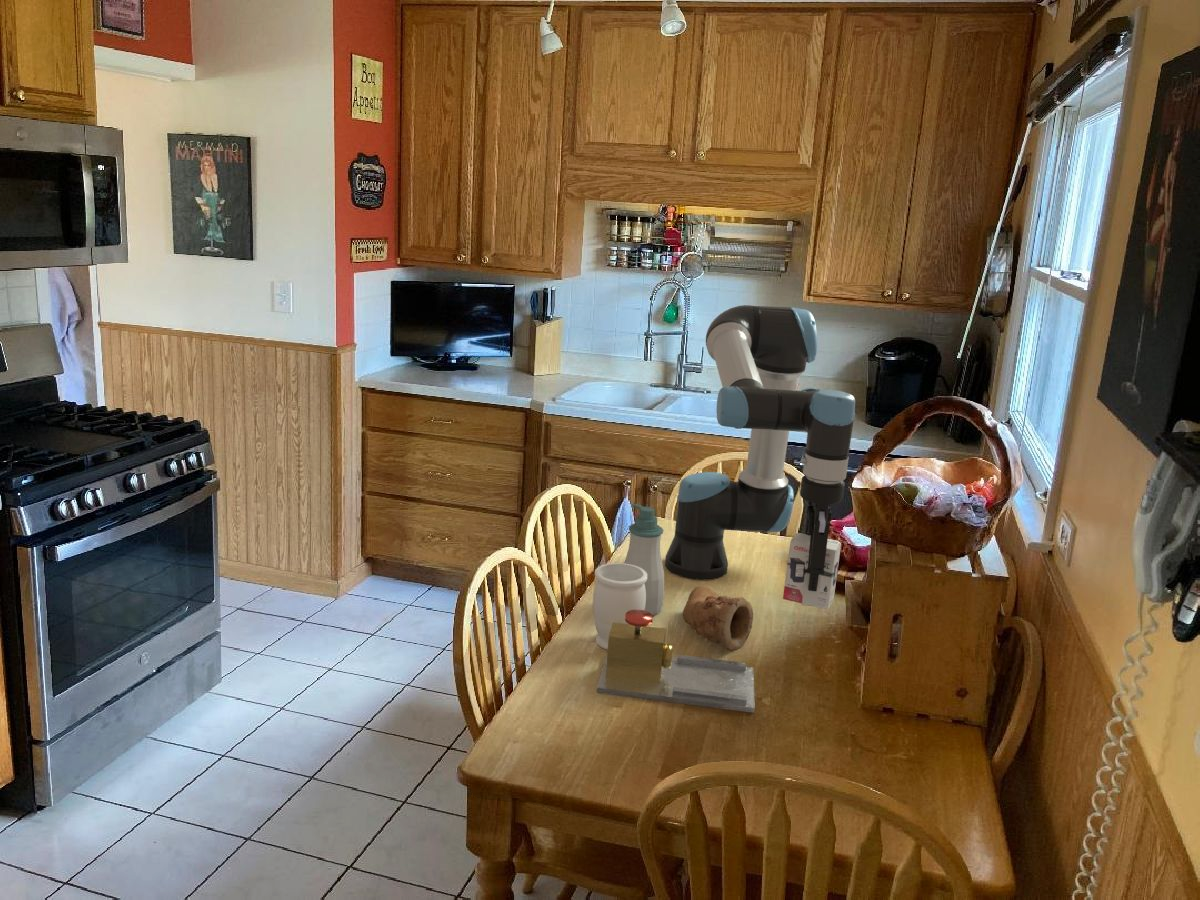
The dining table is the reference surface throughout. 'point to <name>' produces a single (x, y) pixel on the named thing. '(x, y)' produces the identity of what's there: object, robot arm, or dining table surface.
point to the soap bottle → (648, 556)
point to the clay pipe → (719, 617)
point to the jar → (616, 596)
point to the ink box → (800, 561)
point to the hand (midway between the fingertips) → (807, 597)
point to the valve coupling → (670, 670)
